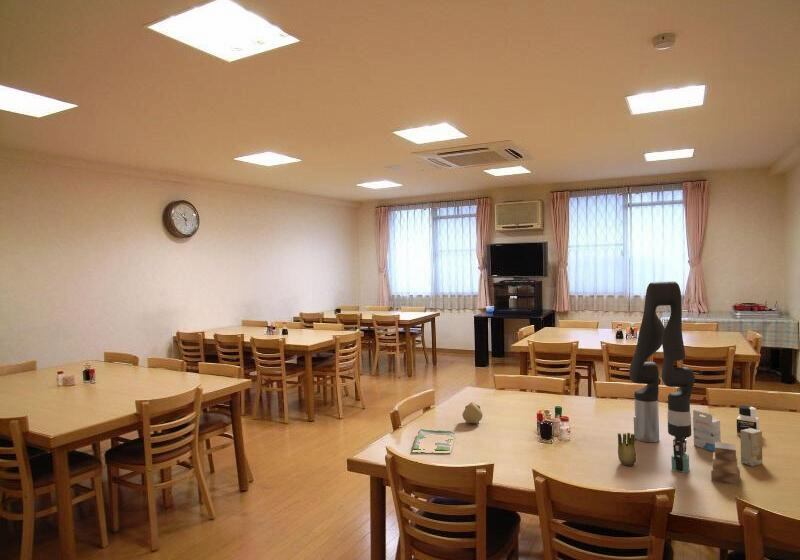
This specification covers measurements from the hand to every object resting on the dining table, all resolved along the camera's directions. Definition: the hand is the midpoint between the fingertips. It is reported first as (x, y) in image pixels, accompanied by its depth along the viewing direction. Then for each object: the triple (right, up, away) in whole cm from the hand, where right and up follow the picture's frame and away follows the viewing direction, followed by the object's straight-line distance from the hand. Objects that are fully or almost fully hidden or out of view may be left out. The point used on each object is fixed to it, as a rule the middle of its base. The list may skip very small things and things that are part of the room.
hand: (680, 467), depth 183 cm
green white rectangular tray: (-88, -4, +36) cm, 95 cm away
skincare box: (+28, 0, +3) cm, 28 cm away
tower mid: (+10, +3, -10) cm, 15 cm away
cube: (0, 0, 0) cm, 0 cm away
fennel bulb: (-17, -1, +6) cm, 18 cm away
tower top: (+10, +7, -10) cm, 16 cm away
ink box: (+22, +1, +20) cm, 30 cm away
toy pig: (-67, -2, +63) cm, 92 cm away
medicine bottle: (+48, +2, +33) cm, 58 cm away
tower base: (+10, -1, -10) cm, 14 cm away
